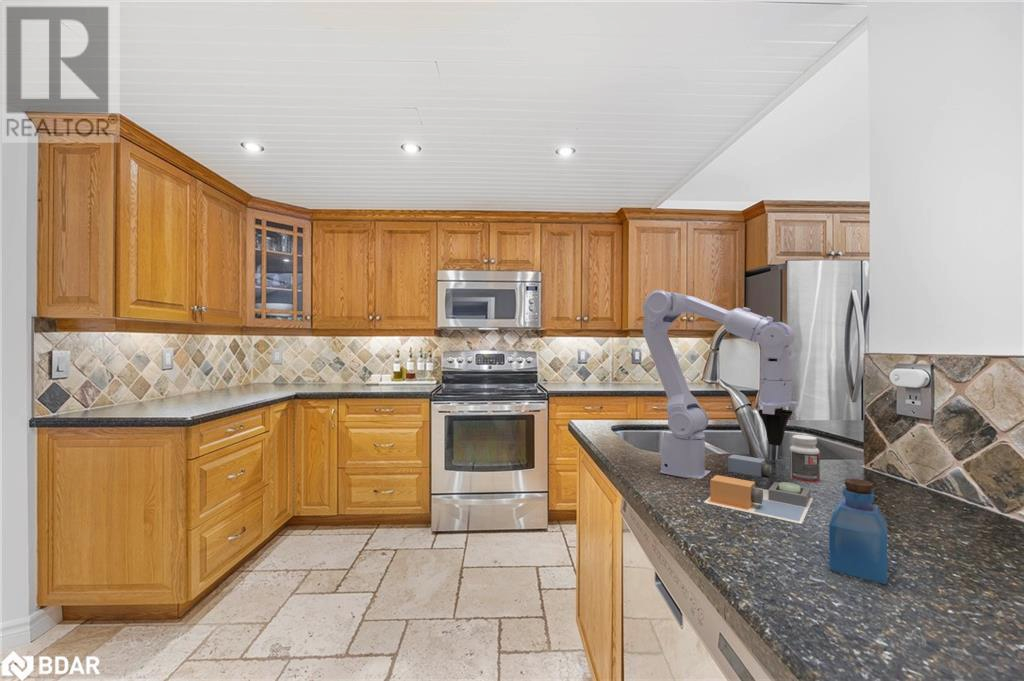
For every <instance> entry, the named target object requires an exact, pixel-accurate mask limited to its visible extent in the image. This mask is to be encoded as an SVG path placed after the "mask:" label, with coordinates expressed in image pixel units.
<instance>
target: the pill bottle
mask: <svg viewBox="0 0 1024 681" xmlns="http://www.w3.org/2000/svg"><path fill="white" fill-rule="evenodd" d="M791 440H792V443H793V444H792V445H791V446H790V447H789V478H791V479H792V480H793V481H794V480H795V481H797V482H802V483H808V484H809V483H819V482H820V480H821V472H820V471H821V470H820V469H821V464H820V463H821V462H820V461H821V459H820V458H821V455H820V454H821V453H820V452H821V451H820V449H819V448H818V447H817V446H816V445H817V444H818V438H817V437H815V436H812V435H804V434H794V435H792V438H791Z"/></svg>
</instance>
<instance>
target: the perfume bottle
mask: <svg viewBox="0 0 1024 681" xmlns="http://www.w3.org/2000/svg"><path fill="white" fill-rule="evenodd" d="M844 485H845V486H844V487H843V488H842V496H843V497H845V498H841V500H840V501H839V503H838V504H837V506H836V507H835V508H834V510H833V511H832V515H831V517H830V521H829V524H828V526H829V527H828V533H829V535H828V536H829V537H828V542H829V543H828V544H829V545H828V546H829V547H828V552H829V553H828V555H829V556H828V561H829V562H828V564H829V565H828V566H829V567H828V570H829V571H833V572H838V573H841V574H845V575H848V576H853V577H856V578H858V579H859V578H860V579H864V580H868V581H871V582H874V583H878V584H883V585H886V586H887V585H888V521H887V520H886V518H885V516H884V514H883V513H882V512H881V510H880V508H879V507H878V505H877V504H873V503H872V502H874V501H875V493H874V491H873V490H872V489H873V486H874V484H873V482H870V481H868V480H864V479H858V478H845V479H844Z"/></svg>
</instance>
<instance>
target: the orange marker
mask: <svg viewBox="0 0 1024 681" xmlns="http://www.w3.org/2000/svg"><path fill="white" fill-rule="evenodd" d="M709 487H710V490H709V493H710V495H709V497H710V500H711V501H715V502H720V503H725V504H730V505H734V506H739V507H744V508H749V509H751V507H752V506H753V505H754V503H758V504H762V502H763V490H761V489H762V488H760V489H756V488H757V487H756V481H751V480H745V479H739V478H736V477H729V476H725V475H724V476H723V475H718V474H716V475H714V476H713V477H712V478H711V479H710V485H709Z"/></svg>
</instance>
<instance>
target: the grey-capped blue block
mask: <svg viewBox="0 0 1024 681" xmlns="http://www.w3.org/2000/svg"><path fill="white" fill-rule="evenodd" d="M727 472H730V473H736V474H740V475H741V474H742V475H746V476H753V477H759V478H761V477H769V478H770V477H771V476H772V465H770V464H767V463H766V459H765V458H759V457H753V456H752V457H751V456H747V455H738V454H731V455H729V456H728V457H727Z"/></svg>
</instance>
